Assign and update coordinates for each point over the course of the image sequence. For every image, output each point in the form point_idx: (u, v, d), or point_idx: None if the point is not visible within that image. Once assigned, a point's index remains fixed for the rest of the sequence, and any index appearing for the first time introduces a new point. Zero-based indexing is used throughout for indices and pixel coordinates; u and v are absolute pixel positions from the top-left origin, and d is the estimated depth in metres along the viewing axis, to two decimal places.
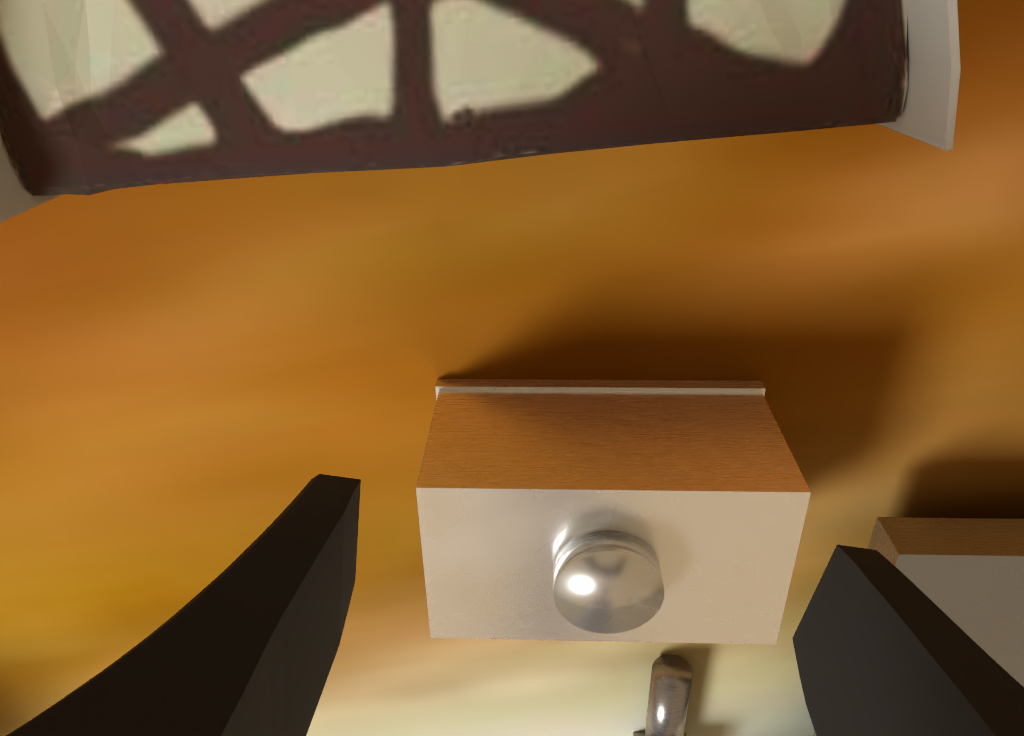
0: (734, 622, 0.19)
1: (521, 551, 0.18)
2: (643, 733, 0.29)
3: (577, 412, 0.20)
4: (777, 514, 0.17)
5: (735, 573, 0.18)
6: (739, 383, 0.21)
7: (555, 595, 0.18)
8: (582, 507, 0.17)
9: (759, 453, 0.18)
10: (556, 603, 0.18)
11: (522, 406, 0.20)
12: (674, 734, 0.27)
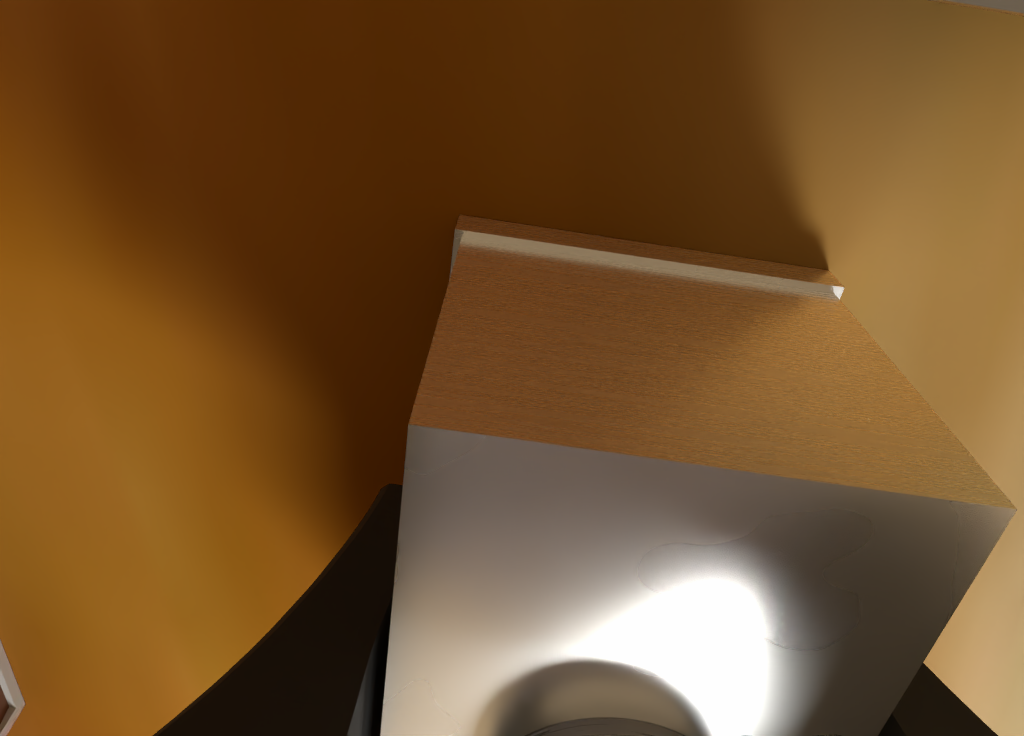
0: (871, 597, 0.07)
1: None
2: None
3: None
4: (479, 498, 0.06)
5: (676, 587, 0.07)
6: None
7: None
8: None
9: None
10: None
11: None
12: None
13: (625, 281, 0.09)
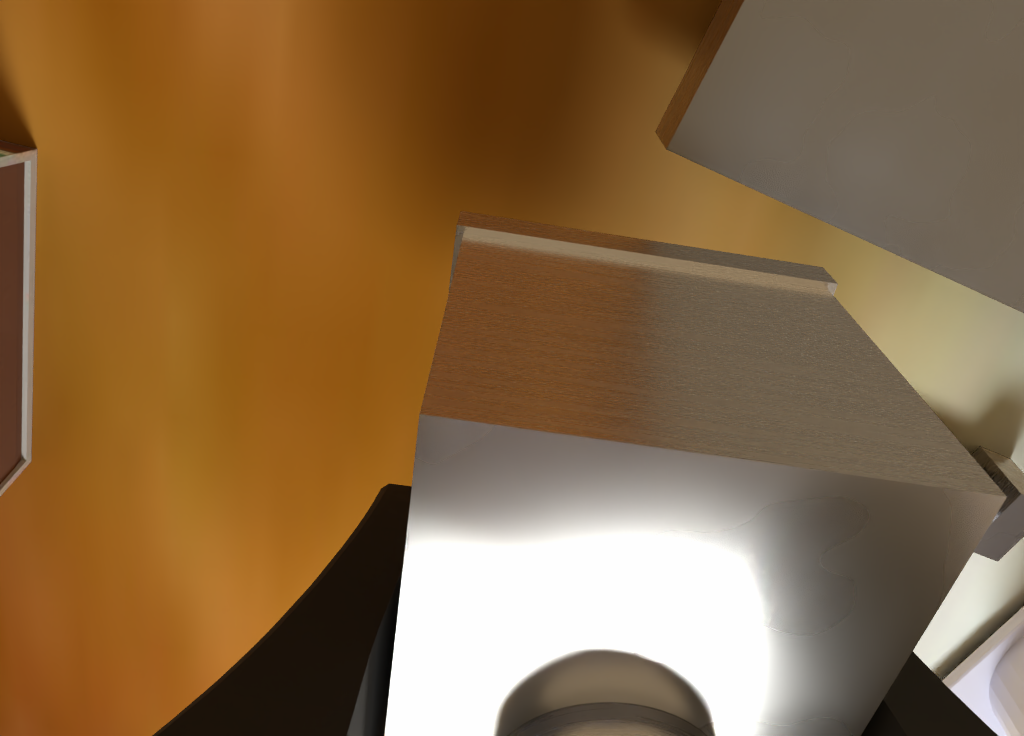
0: (867, 582, 0.07)
1: None
2: None
3: None
4: (487, 486, 0.06)
5: (678, 575, 0.07)
6: None
7: None
8: None
9: None
10: None
11: None
12: None
13: (624, 277, 0.09)
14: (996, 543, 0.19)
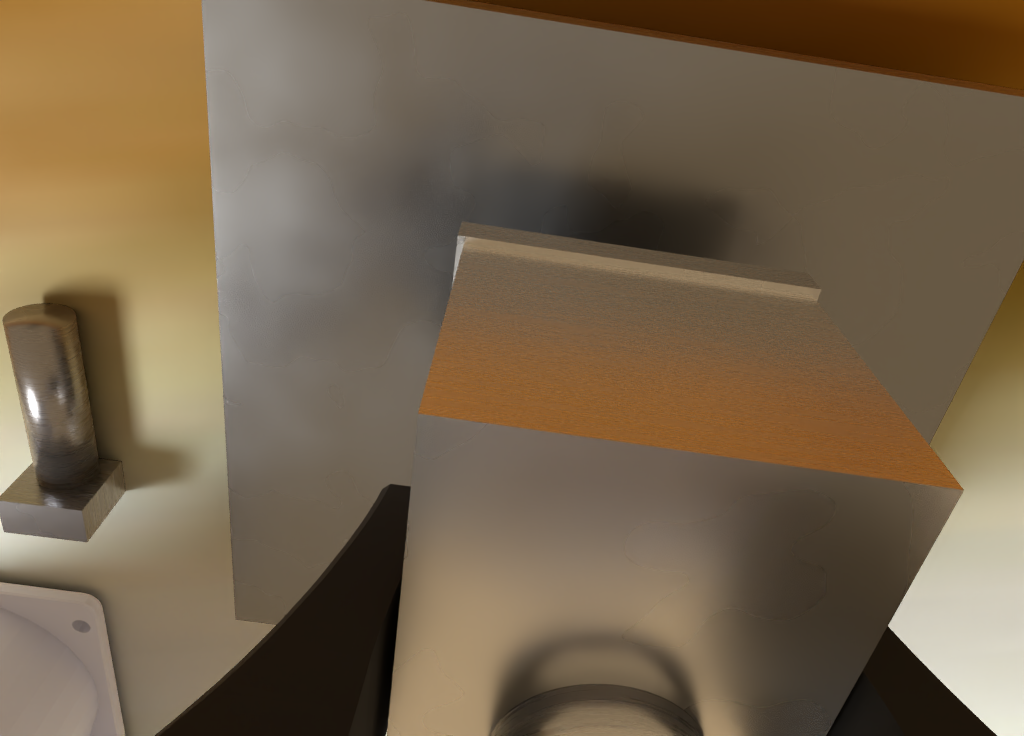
0: (835, 570, 0.07)
1: None
2: None
3: None
4: (480, 479, 0.07)
5: (660, 562, 0.07)
6: None
7: None
8: None
9: None
10: None
11: None
12: (49, 427, 0.17)
13: (616, 284, 0.10)
14: (21, 520, 0.18)
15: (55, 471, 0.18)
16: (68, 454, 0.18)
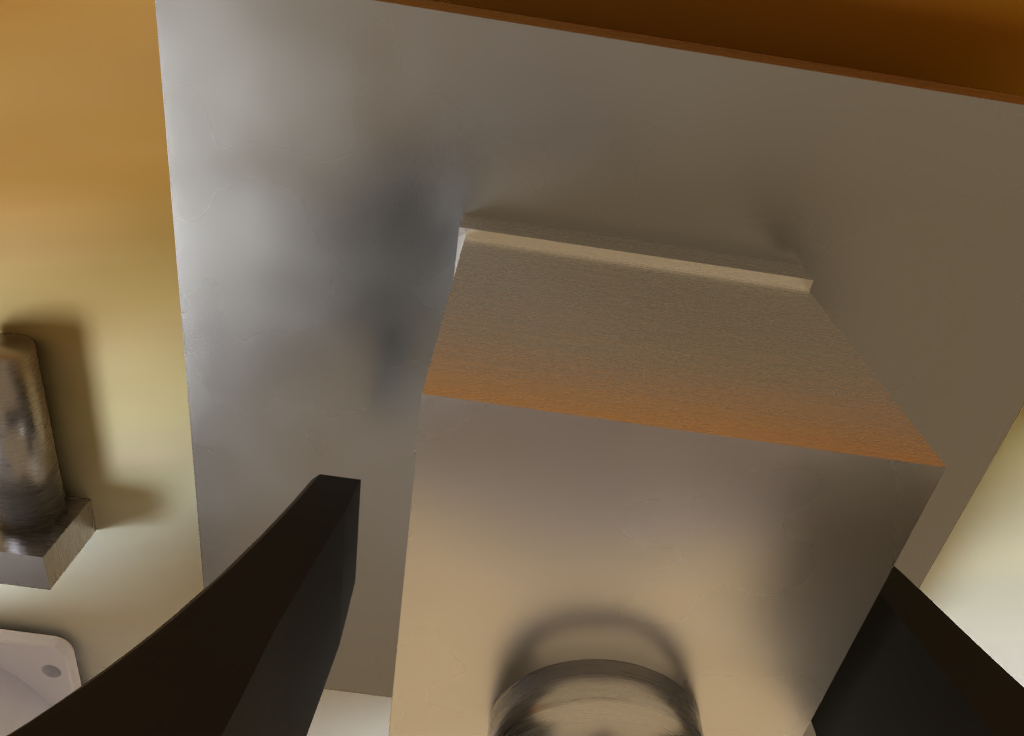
0: (825, 547, 0.08)
1: None
2: None
3: None
4: (482, 458, 0.07)
5: (654, 540, 0.08)
6: None
7: None
8: None
9: None
10: None
11: None
12: (7, 467, 0.16)
13: (613, 274, 0.10)
14: None
15: (15, 513, 0.17)
16: (29, 495, 0.17)
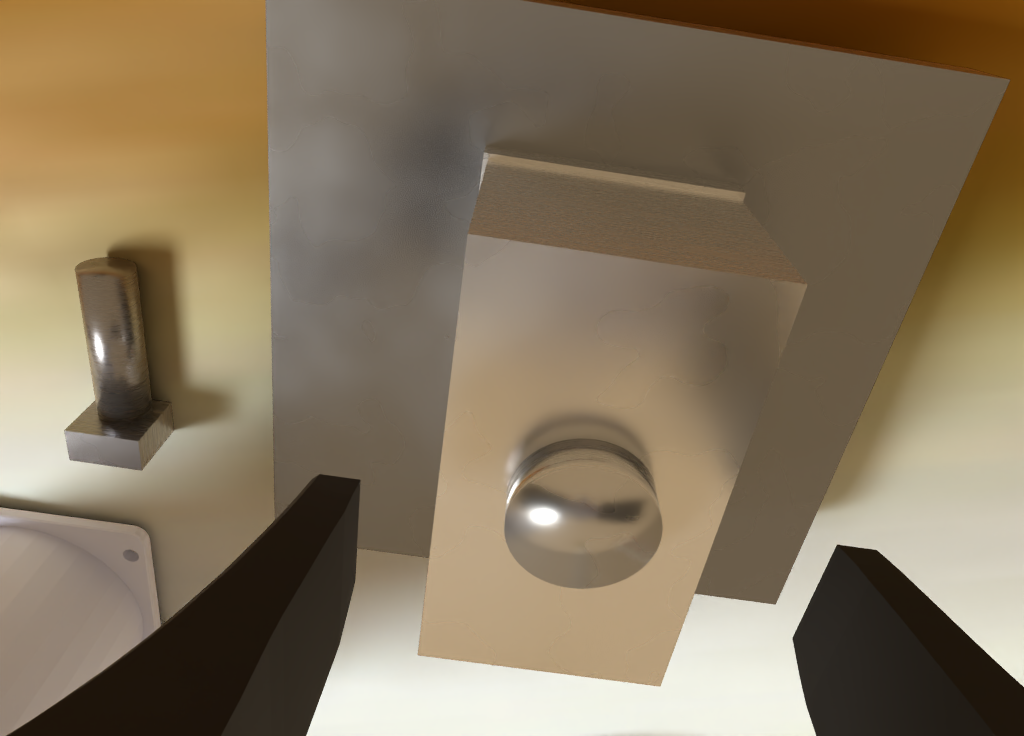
0: (732, 346, 0.11)
1: (529, 581, 0.14)
2: None
3: None
4: (505, 281, 0.11)
5: (619, 341, 0.11)
6: None
7: (572, 585, 0.13)
8: (463, 513, 0.13)
9: None
10: (586, 587, 0.13)
11: None
12: (111, 366, 0.20)
13: (596, 184, 0.14)
14: (85, 449, 0.21)
15: (115, 406, 0.20)
16: (127, 391, 0.20)
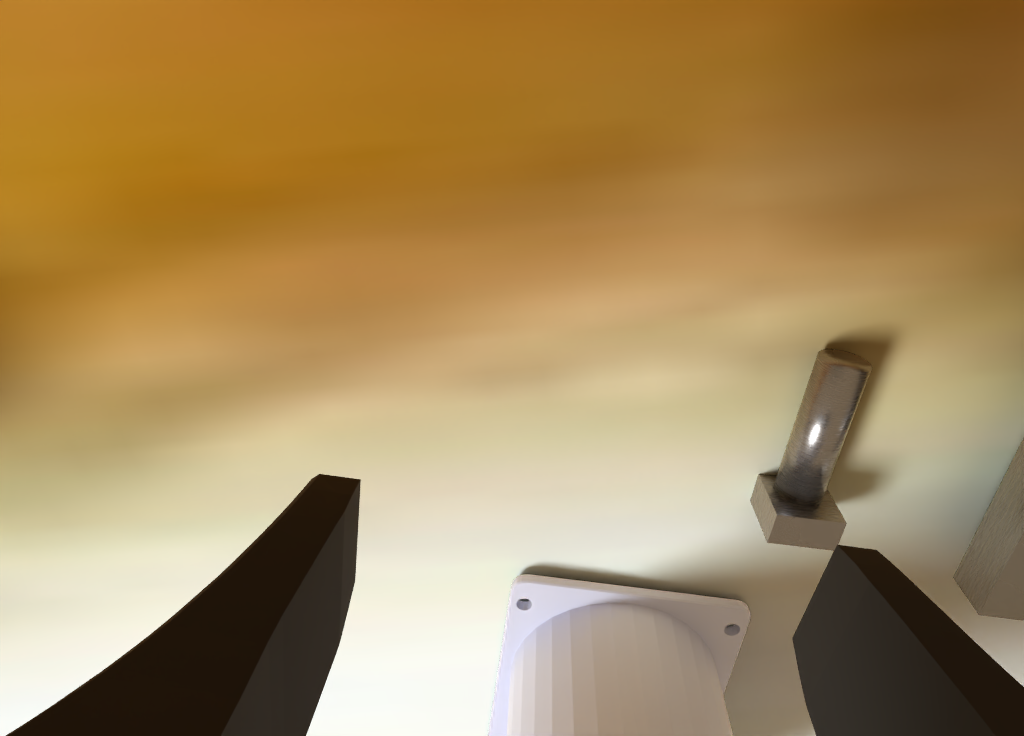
0: None
1: None
2: (771, 476, 0.23)
3: None
4: None
5: None
6: None
7: None
8: None
9: None
10: None
11: None
12: (831, 452, 0.21)
13: None
14: (787, 532, 0.21)
15: (815, 490, 0.21)
16: (828, 475, 0.21)
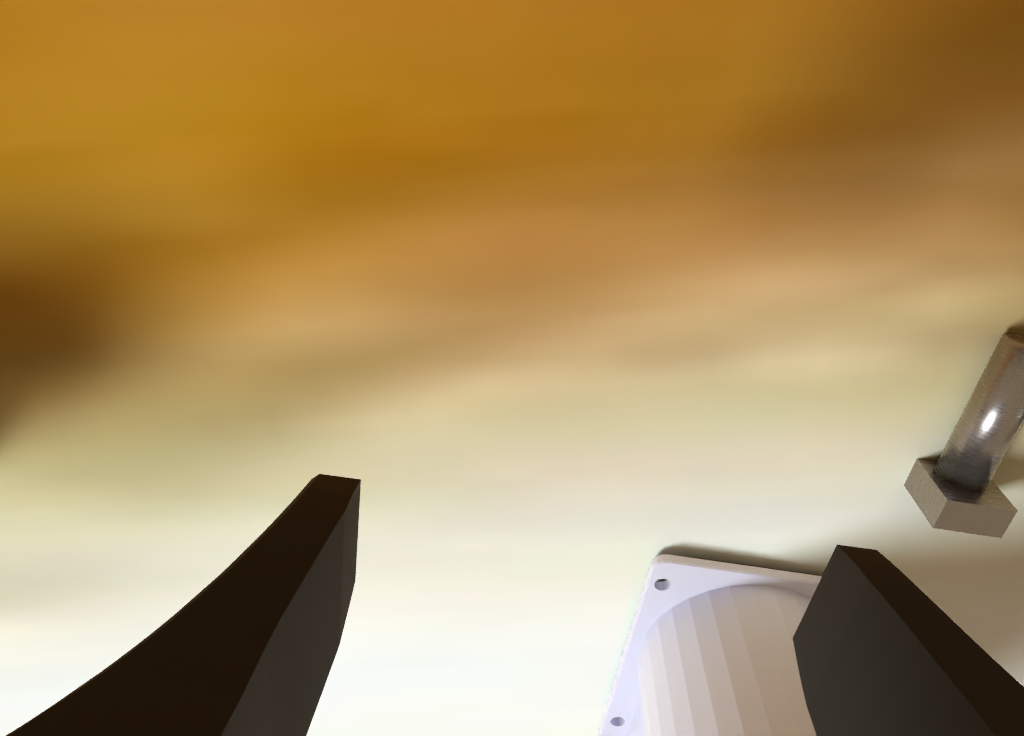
0: None
1: None
2: (930, 461, 0.22)
3: None
4: None
5: None
6: None
7: None
8: None
9: None
10: None
11: None
12: (1008, 438, 0.20)
13: None
14: (955, 518, 0.21)
15: (985, 476, 0.21)
16: (1000, 462, 0.21)
